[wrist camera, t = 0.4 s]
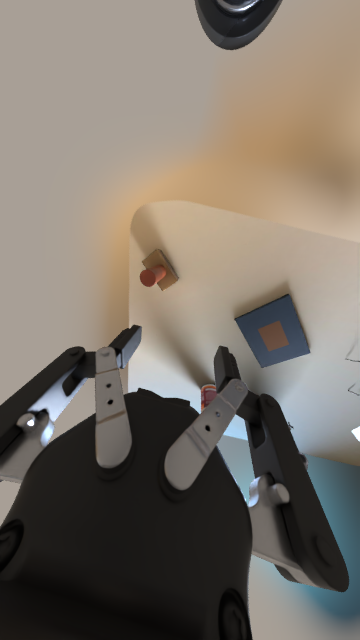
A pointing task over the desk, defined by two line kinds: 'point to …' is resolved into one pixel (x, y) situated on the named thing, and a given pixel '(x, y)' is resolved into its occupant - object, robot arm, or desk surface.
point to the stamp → (158, 271)
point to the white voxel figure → (356, 433)
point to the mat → (274, 332)
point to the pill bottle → (207, 395)
